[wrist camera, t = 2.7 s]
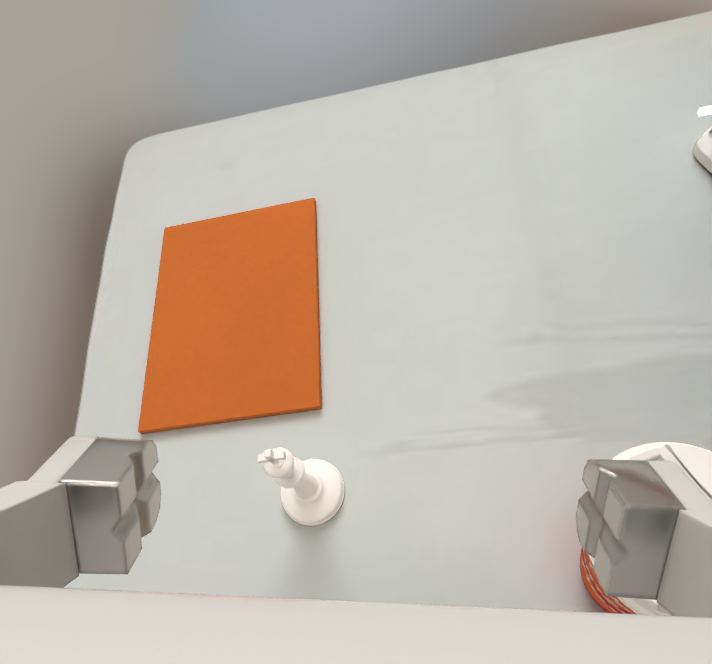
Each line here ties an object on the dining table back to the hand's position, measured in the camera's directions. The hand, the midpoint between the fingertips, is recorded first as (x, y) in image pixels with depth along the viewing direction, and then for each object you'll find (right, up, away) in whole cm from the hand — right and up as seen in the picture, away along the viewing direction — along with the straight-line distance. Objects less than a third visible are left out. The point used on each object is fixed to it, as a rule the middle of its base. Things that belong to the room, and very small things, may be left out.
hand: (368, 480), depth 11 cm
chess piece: (-3, -9, +34) cm, 36 cm away
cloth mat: (-11, +5, +44) cm, 46 cm away
